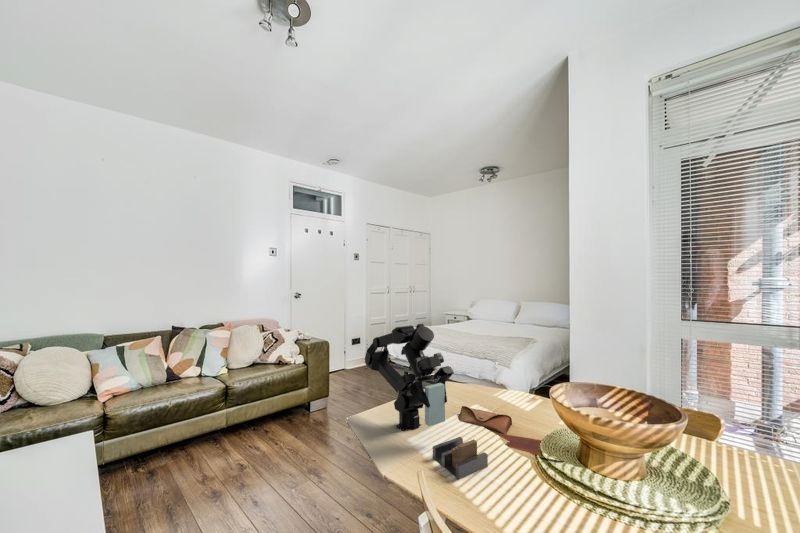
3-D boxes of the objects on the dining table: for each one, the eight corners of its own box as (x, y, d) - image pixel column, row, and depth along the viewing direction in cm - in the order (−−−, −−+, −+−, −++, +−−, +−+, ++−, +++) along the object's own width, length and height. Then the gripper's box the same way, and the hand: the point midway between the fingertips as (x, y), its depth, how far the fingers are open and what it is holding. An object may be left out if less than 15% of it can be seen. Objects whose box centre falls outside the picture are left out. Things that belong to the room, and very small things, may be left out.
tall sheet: (425, 423, 95) (424, 386, 96) (440, 418, 98) (440, 382, 99) (429, 426, 94) (428, 388, 94) (445, 421, 97) (444, 384, 97)
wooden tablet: (563, 447, 96) (563, 442, 96) (564, 466, 87) (564, 459, 87) (474, 430, 107) (474, 425, 107) (467, 444, 98) (467, 439, 98)
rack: (432, 460, 89) (432, 446, 89) (460, 450, 94) (459, 436, 94) (458, 482, 79) (458, 466, 80) (487, 469, 85) (487, 454, 85)
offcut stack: (452, 465, 85) (451, 441, 85) (467, 459, 88) (467, 435, 88) (461, 473, 82) (460, 447, 82) (477, 466, 85) (476, 441, 85)
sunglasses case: (453, 423, 111) (456, 402, 114) (459, 426, 116) (462, 406, 119) (507, 435, 102) (509, 413, 105) (511, 438, 107) (512, 416, 110)
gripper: (401, 348, 95) (422, 398, 85) (449, 341, 105) (474, 385, 95) (388, 368, 102) (407, 416, 92) (435, 359, 111) (456, 402, 102)
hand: (437, 404), depth 95 cm, fingers closed on tall sheet, 6 cm apart
